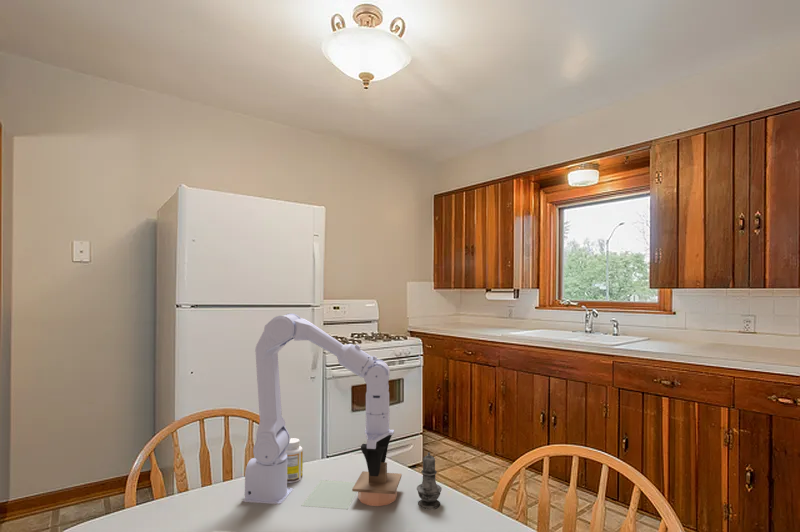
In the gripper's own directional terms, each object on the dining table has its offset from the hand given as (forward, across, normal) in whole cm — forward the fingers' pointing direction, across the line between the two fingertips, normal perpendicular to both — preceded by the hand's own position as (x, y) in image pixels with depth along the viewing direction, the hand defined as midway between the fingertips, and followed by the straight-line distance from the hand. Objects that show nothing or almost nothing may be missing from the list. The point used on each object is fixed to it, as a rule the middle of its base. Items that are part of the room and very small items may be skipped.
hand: (377, 469), depth 109 cm
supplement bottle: (+7, +7, +24) cm, 26 cm away
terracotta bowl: (+7, 0, 0) cm, 7 cm away
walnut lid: (+3, 0, 0) cm, 3 cm away
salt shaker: (+7, -1, -13) cm, 14 cm away
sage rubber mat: (+7, 0, +11) cm, 13 cm away
